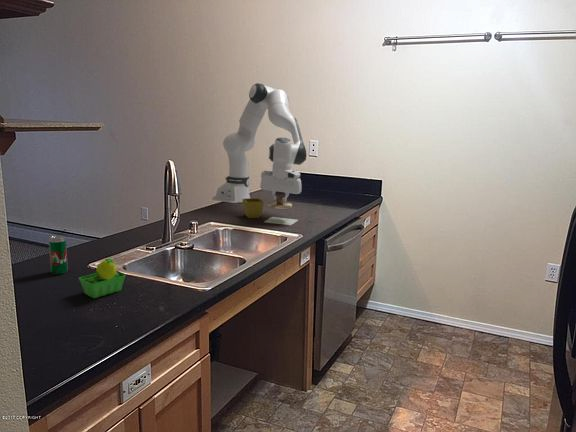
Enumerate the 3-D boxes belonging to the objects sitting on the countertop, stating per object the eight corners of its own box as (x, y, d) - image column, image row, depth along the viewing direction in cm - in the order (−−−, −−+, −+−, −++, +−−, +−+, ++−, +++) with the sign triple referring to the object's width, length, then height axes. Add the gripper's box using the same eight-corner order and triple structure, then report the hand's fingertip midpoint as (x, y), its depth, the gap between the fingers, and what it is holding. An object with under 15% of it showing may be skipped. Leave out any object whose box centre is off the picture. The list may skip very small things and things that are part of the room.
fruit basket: (113, 283, 152) (111, 249, 149) (129, 291, 146) (128, 255, 144) (78, 293, 143) (76, 257, 141) (94, 302, 138) (92, 264, 135)
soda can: (63, 268, 163) (61, 234, 160) (71, 272, 160) (68, 237, 157) (48, 272, 159) (45, 237, 156) (55, 276, 156) (53, 240, 153)
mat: (263, 222, 235) (263, 221, 235) (272, 217, 246) (272, 216, 246) (291, 226, 231) (291, 225, 231) (298, 220, 242) (298, 219, 242)
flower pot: (263, 219, 243) (264, 201, 241) (246, 220, 240) (247, 202, 237) (258, 215, 251) (258, 198, 249) (241, 216, 247) (242, 198, 245)
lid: (263, 206, 233) (263, 195, 232) (272, 202, 244) (273, 191, 243) (286, 210, 229) (287, 198, 228) (295, 205, 240) (296, 194, 239)
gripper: (258, 171, 233) (257, 199, 236) (299, 175, 227) (297, 204, 230) (263, 169, 239) (262, 197, 242) (303, 173, 232) (301, 202, 236)
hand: (279, 200), depth 236 cm, fingers closed on lid, 3 cm apart
